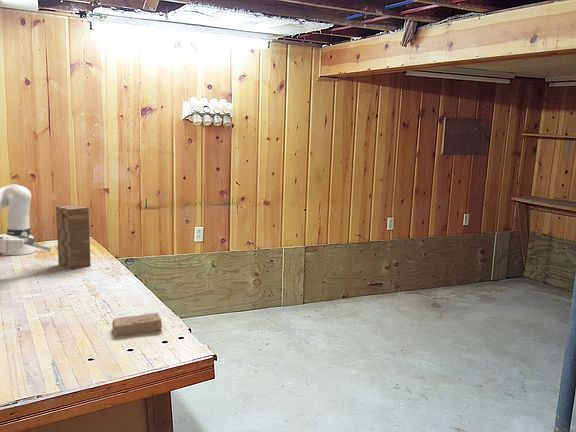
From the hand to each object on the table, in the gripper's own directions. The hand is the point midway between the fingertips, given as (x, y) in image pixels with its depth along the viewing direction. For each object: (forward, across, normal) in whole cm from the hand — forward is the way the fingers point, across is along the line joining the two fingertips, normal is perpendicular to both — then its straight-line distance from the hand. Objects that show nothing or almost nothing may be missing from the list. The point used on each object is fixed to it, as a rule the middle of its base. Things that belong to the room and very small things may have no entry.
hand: (24, 238), depth 250 cm
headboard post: (+25, -1, -18) cm, 31 cm away
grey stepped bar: (+4, 0, -5) cm, 6 cm away
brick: (-6, +98, -19) cm, 100 cm away
